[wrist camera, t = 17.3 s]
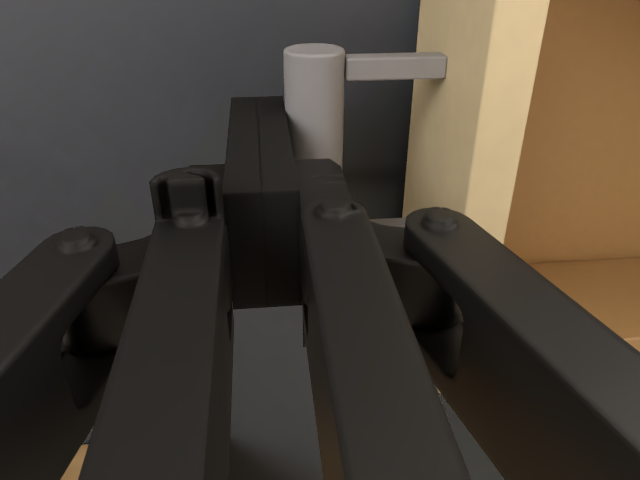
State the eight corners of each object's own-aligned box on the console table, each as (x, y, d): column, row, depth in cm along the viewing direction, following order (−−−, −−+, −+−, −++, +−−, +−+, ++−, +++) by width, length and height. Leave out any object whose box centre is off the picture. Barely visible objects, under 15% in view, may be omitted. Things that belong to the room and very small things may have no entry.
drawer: (286, 293, 22) (297, 406, 17) (273, -116, 15) (285, -131, 10) (779, 263, 24) (920, 356, 19) (959, -110, 17) (1251, -120, 12)
